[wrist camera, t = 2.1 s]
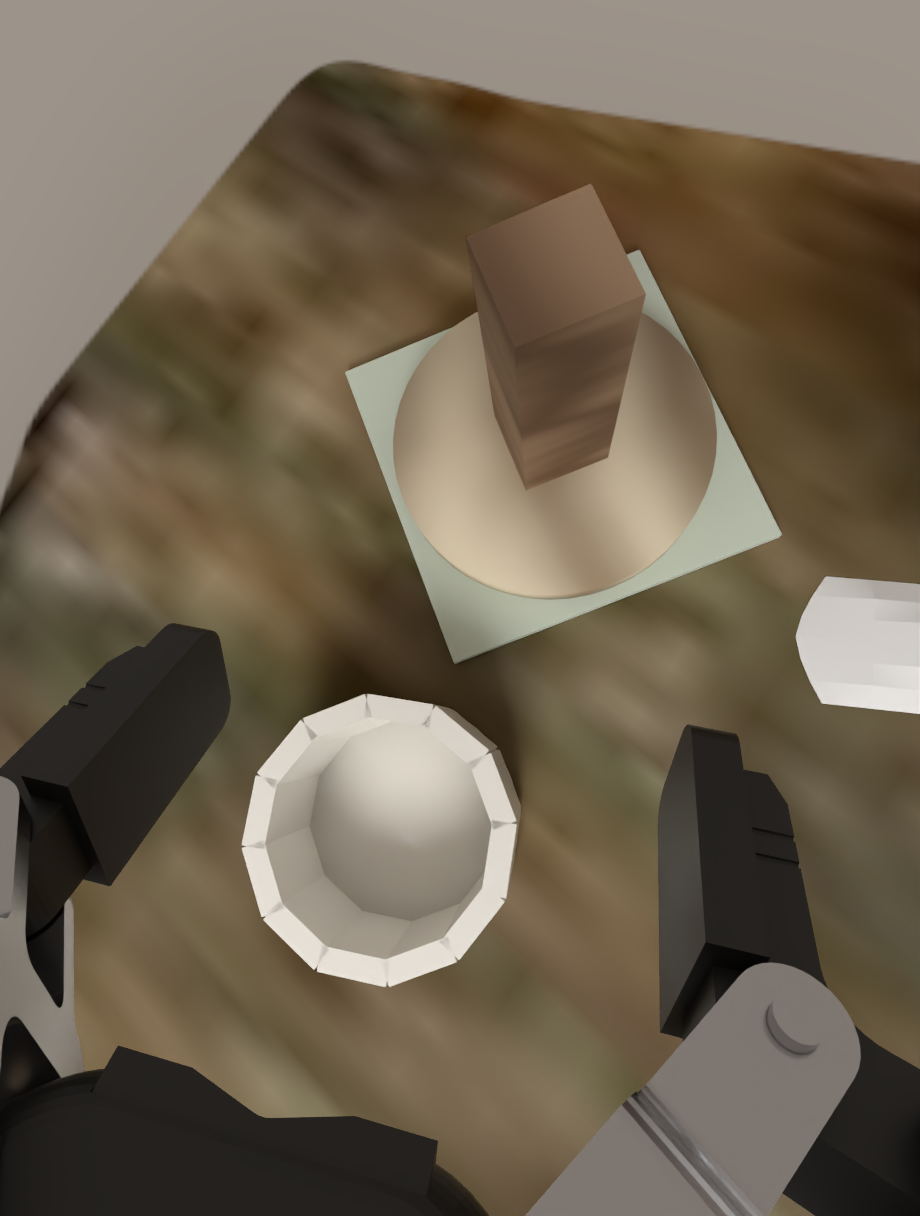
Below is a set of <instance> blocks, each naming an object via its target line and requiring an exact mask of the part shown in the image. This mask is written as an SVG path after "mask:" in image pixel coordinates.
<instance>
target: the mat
mask: <svg viewBox="0 0 920 1216" xmlns="http://www.w3.org/2000/svg"><path fill="white" fill-rule="evenodd" d="M627 257H628V259H629V261H630V263H631V265H632V267H633V269H634V271H635V273H636V275H637V277H638V279H639V281H640V283H641V285H642V287H643V289H644V291H645V293H646V296H645V300H644V305H643V309H642V313H644V314H646V315H647V316H649V317H650V318H652V319H653V320H655V321H656V322H657V323H659V324H660V325H661V326H663V327H664V328H665V329H666V330H668V331H669V332H670V333H671V334H672V335H673V336H674V337H675V338H676V339H677V340H678V341H679V342H680V343H681V344H682V346H683V347H684V348H685V349H686V351H687V352H688V353H689V354H690V356H691V357H692V358H693V356H692V354H691V352H690V350H689V348H688V346H687V344H686V342H685V340H684V338H683V336H682V334H681V332H680V330H679V328H678V326H677V324H676V322H675V320H674V318H673V316H672V314H671V312H670V310H669V308H668V306H667V304H666V302H665V300H664V298H663V296H662V294H661V292H660V290H659V288H658V286H657V284H656V282H655V280H654V278H653V276H652V274H651V272H650V270H649V268H648V266H647V264H646V262H645V260H644V258H643V256H642V254H641V252H640V250H637V251H635V252H632V253H630V254H627ZM454 327H455V326H454ZM452 328H453V327H452ZM452 328H450V329H447V330H445V331H442V332H440V333H438V334H435V335H433V336H430V337H428V338H426V339H423V340H421V341H418V342H416V343H413V344H411V345H409V346H406V347H404V348H401V349H399V350H397V351H394V352H392V353H389V354H387V355H385V356H382V357H380V358H377V359H375V360H373V361H370V362H368V363H365V364H363V365H361V366H358V367H356V368H353V369H351V370H349V371H346V372H345V373H346V376H347V379H348V381H349V384H350V387H351V389H352V392H353V395H354V397H355V400H356V403H357V405H358V408H359V411H360V414H361V416H362V419H363V422H364V424H365V427H366V430H367V432H368V435H369V438H370V440H371V443H372V446H373V448H374V451H375V454H376V456H377V459H378V462H379V464H380V467H381V470H382V472H383V475H384V478H385V480H386V483H387V486H388V488H389V491H390V494H391V496H392V499H393V502H394V504H395V507H396V510H397V512H398V515H399V518H400V520H401V523H402V526H403V528H404V531H405V534H406V536H407V539H408V542H409V544H410V547H411V550H412V552H413V555H414V558H415V561H416V563H417V566H418V569H419V571H420V574H421V577H422V579H423V582H424V585H425V587H426V590H427V593H428V595H429V598H430V601H431V603H432V606H433V609H434V611H435V614H436V617H437V619H438V622H439V625H440V627H441V630H442V633H443V635H444V638H445V641H446V643H447V646H448V649H449V651H450V654H451V657H452V659H453V662H454V663H455V664H457V663H459V662H462V661H464V660H467V659H469V658H472V657H475V656H477V655H480V654H482V653H485V652H487V651H490V650H492V649H495V648H498V647H500V646H503V645H505V644H508V643H510V642H513V641H515V640H518V639H521V638H523V637H526V636H528V635H531V634H533V633H536V632H539V631H541V630H544V629H546V628H549V627H551V626H554V625H556V624H559V623H562V622H564V621H567V620H569V619H572V618H574V617H577V616H579V615H582V614H585V613H587V612H590V611H592V610H595V609H597V608H600V607H603V606H605V605H608V604H610V603H613V602H615V601H618V600H620V599H623V598H626V597H628V596H631V595H633V594H636V593H638V592H641V591H644V590H646V589H649V588H651V587H654V586H656V585H659V584H661V583H664V582H667V581H669V580H672V579H674V578H677V577H679V576H682V575H684V574H687V573H690V572H692V571H695V570H697V569H700V568H702V567H705V566H708V565H710V564H713V563H715V562H718V561H720V560H723V559H725V558H728V557H731V556H733V555H736V554H738V553H741V552H743V551H746V550H748V549H751V548H754V547H756V546H759V545H761V544H764V543H766V542H769V541H772V540H774V539H777V538H778V537H780V536H781V535H782V534H781V532H780V530H779V528H778V526H777V524H776V522H775V520H774V518H773V516H772V514H771V512H770V510H769V508H768V506H767V504H766V502H765V500H764V498H763V496H762V494H761V492H760V490H759V488H758V486H757V484H756V482H755V480H754V478H753V476H752V474H751V472H750V470H749V468H748V466H747V464H746V462H745V460H744V458H743V456H742V454H741V452H740V450H739V448H738V446H737V444H736V442H735V440H734V438H733V436H732V434H731V432H730V430H729V428H728V426H727V424H726V422H725V420H724V418H723V416H722V414H721V412H720V410H719V408H718V406H717V404H716V402H715V400H714V398H713V396H712V394H711V392H710V390H709V388H708V386H707V388H708V390H709V392H710V396H711V400H712V404H713V407H714V411H715V419H716V428H717V447H716V458H715V463H714V469H713V474H712V477H711V480H710V483H709V486H708V489H707V492H706V494H705V496H704V498H703V500H702V502H701V504H700V506H699V508H698V510H697V512H696V514H695V515H694V517H693V518H692V520H691V521H690V523H689V524H688V526H687V527H686V528H685V530H684V531H683V533H682V534H681V536H680V537H679V538H678V540H677V541H676V542H675V543H674V544H673V545H672V546H671V547H670V548H669V550H668V551H667V552H666V553H665V554H664V555H663V556H662V557H660V558H659V559H658V560H657V561H656V562H654V563H653V564H652V565H651V566H650V567H648V568H647V569H645V570H644V571H642V572H641V573H639V574H638V575H636V576H634V577H633V578H631V579H630V580H627V581H625V582H623V583H621V584H619V585H617V586H615V587H612V588H610V589H607V590H604V591H601V592H597V593H594V594H591V595H586V596H581V597H575V598H570V599H552V600H546V599H533V598H524V597H520V596H515V595H510V594H506V593H503V592H500V591H497V590H494V589H491V588H488V587H486V586H484V585H482V584H480V583H478V582H476V581H474V580H472V579H470V578H468V577H467V576H465V575H464V574H463V573H461V572H460V571H458V570H457V569H455V568H454V567H452V566H451V565H450V564H449V563H448V562H447V561H446V560H445V559H443V558H442V557H441V556H440V555H439V554H438V553H437V552H436V551H435V549H434V548H433V547H432V546H431V545H430V544H429V542H428V541H427V540H426V539H425V537H424V536H423V534H422V533H421V531H420V529H419V528H418V526H417V525H416V523H415V522H414V520H413V518H412V517H411V515H410V513H409V511H408V509H407V507H406V505H405V502H404V500H403V498H402V495H401V492H400V489H399V485H398V482H397V479H396V473H395V467H394V460H393V435H394V427H395V420H396V416H397V412H398V408H399V404H400V401H401V398H402V396H403V393H404V391H405V389H406V386H407V384H408V382H409V380H410V378H411V377H412V375H413V373H414V371H415V369H416V368H417V366H418V365H419V363H420V362H421V361H422V359H423V358H424V357H425V355H426V354H427V353H428V351H429V350H430V349H431V348H432V347H433V346H434V345H435V344H436V343H437V342H438V341H439V340H440V339H441V338H442V337H443V336H444V335H445V334H446V333H447V332H449V331H450V330H451V329H452ZM693 360H694V358H693ZM694 362H695V360H694ZM695 364H696V362H695ZM696 365H697V364H696ZM697 367H698V366H697ZM698 369H699V368H698ZM705 383H706V382H705ZM706 385H707V384H706Z"/></svg>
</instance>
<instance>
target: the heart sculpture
mask: <svg viewBox="0 0 920 1216" xmlns="http://www.w3.org/2000/svg"><path fill="white" fill-rule="evenodd" d="M796 640H797V645H798V650H799V654H800V659H801V661H802V663H803V666H804V668H805V671H806V673H807V676H808V678H809V680H810V682H811V684H812V686H813V688H814V690H815V692H816V693H817V695H818V697H819V699H820V701H821V703H823V704H833V705H842V706H851V707H861V708H870V709H880V710H889V711H898V712H908V713H917V714H920V584H912V583H900V582H888V581H876V580H864V579H852V578H840V577H828V576H826V577H825V578H824V580H823V581H822V583H821V584H820V585H819V587H818V588H817V590H816V591H815V593H814V594H813V596H812V597H811V599H810V601H809V603H808V605H807V607H806V609H805V611H804V613H803V614H802V617H801V620H800V623H799V627H798V630H797V633H796Z"/></svg>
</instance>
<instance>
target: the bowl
mask: <svg viewBox="0 0 920 1216" xmlns="http://www.w3.org/2000/svg"><path fill="white" fill-rule="evenodd" d="M497 747H498V746H496V745H495V744H494V743H493V742H492V741H490V740H489V739H488V738H487V737H486V736H484V735H483V734H482V733H481V732H480V731H479V730H478V729H477V728H476V727H474V726H473V725H472V724H470V723H469V722H468V721H466V720H465V719H464V718H463V717H462V716H460V715H459V714H458V713H457V712H456V711H454V710H453V709H451V708H446V707H442V706H438V705H433V704H427V703H421V702H415V701H409V700H403V699H397V698H391V697H385V696H379V695H373V694H368V695H367V694H363V695H361V696H358V697H356V698H353V699H351V700H348V701H346V702H343V703H340V704H338V705H335V706H333V707H330V708H328V709H325V710H323V711H320V712H317V713H315V714H312V715H310V716H307V717H305V718H303V720H300V721H299V722H298V724H297V725H296V726H295V727H294V728H293V730H292V731H291V732H290V733H289V735H288V736H287V737H286V738H285V739H284V741H283V742H282V743H281V744H280V746H279V747H278V748H277V749H276V750H275V752H274V753H273V754H272V755H271V756H270V758H269V759H268V760H267V761H266V763H265V764H264V765H263V766H262V767H261V769H260V770H259V771H258V772H257V773H258V774H259V775H257V776H256V777H255V782H254V787H253V792H252V796H251V801H250V806H249V811H248V816H247V821H246V826H245V831H244V836H243V840H242V845H245V846H246V847H244V848H242V851H243V854H244V858H245V861H246V865H247V868H248V872H249V875H250V879H251V882H252V886H253V889H254V892H255V896H256V899H257V903H258V906H259V910H260V913H261V917H263V916H266V915H267V916H266V917H265V918H264V921H265V922H266V923H267V924H268V925H269V926H270V927H271V928H272V929H273V930H274V931H275V932H276V933H277V934H278V935H279V936H280V937H281V938H282V939H283V940H284V941H285V942H286V943H287V944H288V945H289V946H290V947H291V948H292V949H293V950H294V951H295V952H296V953H297V954H298V955H299V956H300V957H301V958H302V959H303V960H304V961H305V962H306V963H307V964H308V965H309V966H310V967H311V968H312V969H313V970H314V969H315V968H316V967H317V966H318V968H317V972H321V973H325V974H330V975H334V976H339V977H343V978H347V979H352V980H356V981H361V982H365V983H369V984H374V985H378V986H383V987H386V986H387V984H388V985H389V987H390V986H393V985H396V984H398V983H401V982H404V981H407V980H409V979H412V978H415V977H418V976H420V975H423V974H426V973H428V972H431V971H434V970H437V969H439V968H442V967H445V966H447V965H450V964H453V963H456V962H457V959H458V960H460V958H461V957H462V956H463V955H464V953H465V952H466V951H467V949H468V948H469V947H470V946H471V944H472V943H473V942H474V941H475V939H476V938H477V937H478V935H479V934H480V933H481V932H482V930H483V929H484V928H485V926H486V925H487V924H488V923H489V921H490V920H491V919H492V918H493V916H494V915H495V914H496V912H497V911H498V910H499V909H500V907H501V906H502V905H503V903H504V902H505V899H506V897H507V892H508V888H509V884H510V879H511V875H512V870H513V863H514V856H515V849H516V843H517V837H518V829H519V822H520V815H521V809H520V808H521V804H520V802H519V799H518V797H517V794H516V791H515V788H514V785H513V782H512V779H511V776H510V773H509V771H508V769H507V767H506V765H505V762H504V760H503V757H502V754H501V752H500V749H499V750H496V749H497Z"/></svg>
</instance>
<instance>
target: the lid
mask: <svg viewBox="0 0 920 1216" xmlns="http://www.w3.org/2000/svg"><path fill="white" fill-rule="evenodd" d="M466 241H467V247H468V253H469V260H470V266H471V272H472V278H473V285H474V291H475V297H476V303H477V310H478V312H476V313H474V314H472V315H471V316H469V317H468V318H466V319H465V320H463V321H462V322H460V323H458V324H457V325H456V326H455V327H453V328H452V329H451V330H450V331H449V332H447V333H446V334H445V335H444V336H443V337H442V338H441V339H440V340H439V341H438V342H437V343H436V344H435V345H434V346H433V347H432V348H431V349H430V350H429V351H428V353H427V354H426V355H425V357H424V358H423V359H422V361H421V362H420V363H419V365H418V366H417V368H416V369H415V371H414V373H413V375H412V377H411V378H410V380H409V382H408V384H407V386H406V389H405V391H404V393H403V396H402V398H401V401H400V404H399V408H398V412H397V416H396V420H395V427H394V435H393V460H394V467H395V473H396V479H397V482H398V485H399V489H400V492H401V495H402V498H403V500H404V502H405V505H406V507H407V509H408V511H409V513H410V515H411V517H412V518H413V520H414V522H415V523H416V525H417V526H418V528H419V529H420V531H421V533H422V534H423V536H424V537H425V539H426V540H427V541H428V542H429V544H430V545H431V546H432V547H433V548H434V549H435V551H436V552H437V553H438V554H439V555H440V556H441V557H442V558H443V559H445V560H446V561H447V562H448V563H449V564H450V565H451V566H452V567H454V568H455V569H457V570H458V571H460V572H461V573H463V574H464V575H465V576H467V577H468V578H470V579H472V580H474V581H476V582H478V583H480V584H482V585H484V586H486V587H488V588H491V589H494V590H497V591H500V592H503V593H506V594H510V595H515V596H520V597H524V598H533V599H546V600H552V599H570V598H575V597H581V596H586V595H591V594H594V593H597V592H601V591H604V590H607V589H610V588H612V587H615V586H617V585H619V584H621V583H623V582H625V581H627V580H630V579H631V578H633V577H634V576H636V575H638V574H639V573H641V572H642V571H644V570H645V569H647V568H648V567H650V566H651V565H652V564H653V563H654V562H656V561H657V560H658V559H659V558H660V557H662V556H663V555H664V554H665V553H666V552H667V551H668V550H669V548H670V547H671V546H672V545H673V544H674V543H675V542H676V541H677V540H678V538H679V537H680V536H681V534H682V533H683V531H684V530H685V528H686V527H687V526H688V524H689V523H690V521H691V520H692V518H693V517H694V515H695V514H696V512H697V510H698V508H699V506H700V504H701V502H702V500H703V498H704V496H705V494H706V492H707V489H708V486H709V483H710V480H711V477H712V474H713V469H714V463H715V458H716V447H717V428H716V419H715V411H714V407H713V404H712V400H711V396H710V392H709V390H708V388H707V385H706V383H705V380H704V378H703V376H702V374H701V372H700V370H699V369H698V367H697V365H696V364H695V362H694V360H693V358H692V357H691V356H690V354H689V353H688V352H687V351H686V349H685V348H684V347H683V346H682V344H681V343H680V342H679V341H678V340H677V339H676V338H675V337H674V336H673V335H672V334H671V333H670V332H669V331H668V330H666V329H665V328H664V327H663V326H661V325H660V324H659V323H657V322H656V321H655V320H653V319H652V318H650V317H649V316H647V315H646V314H644V313H642V309H643V305H644V300H645V296H646V293H645V291H644V289H643V287H642V285H641V283H640V281H639V279H638V277H637V275H636V273H635V271H634V269H633V267H632V265H631V263H630V261H629V259H628V257H627V255H626V253H625V251H624V249H623V246H622V244H621V242H620V240H619V238H618V236H617V234H616V232H615V230H614V228H613V226H612V224H611V222H610V220H609V218H608V216H607V214H606V212H605V210H604V208H603V206H602V204H601V202H600V200H599V198H598V196H597V194H596V192H595V190H594V188H593V186H592V184H588V185H586V186H584V187H581V188H579V189H577V190H574V191H572V192H569V193H567V194H565V195H562V196H560V197H558V198H555V199H553V200H551V201H548V202H546V203H543V204H541V205H539V206H536V207H534V208H532V209H529V210H527V211H525V212H522V213H520V214H517V215H515V216H513V217H510V218H508V219H506V220H503V221H501V222H499V223H496V224H494V225H491V226H489V227H487V228H484V229H482V230H480V231H477V232H475V233H473V234H470V235H468V236H466Z"/></svg>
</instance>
